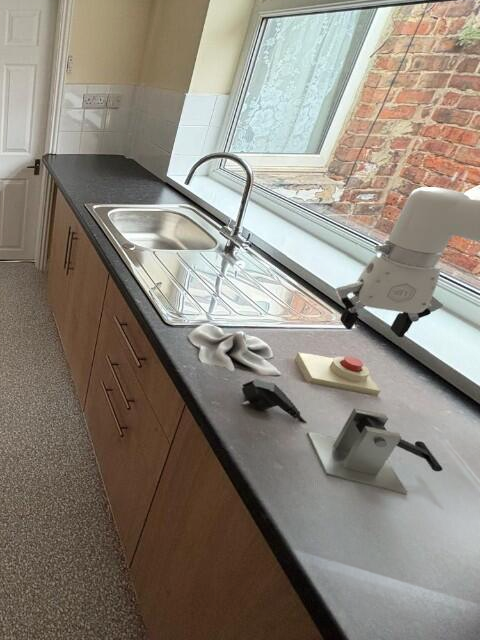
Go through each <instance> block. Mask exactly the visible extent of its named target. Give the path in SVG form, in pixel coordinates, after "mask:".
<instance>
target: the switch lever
mask: <svg viewBox="0 0 480 640" xmlns="http://www.w3.org/2000/svg"><path fill="white" fill-rule="evenodd" d="M365 426H367V427H372V428H376V429H381V430H386V431H388V430H387V428H386V427H385V425H383V424H380V423H378V422H376V421H374V420H372V419H370V418H367V417H366V418H365V419H363V420H362V421H360V422H359V423H358V424H356V427H357V428H358V430H359V432H360V434H361V432H362V431H363V429H364V427H365ZM396 447H398V448H400V449H403V450H405V451H407V452H409V453H411V454H413V455H415V456H417V457H419V458H422V459H424V460H425V461H426V462H427V464H428V465H429V467H430V468H431V470H432V471H434V472H437V473H438V472H442V471H443V467H442V466H441V464H440V463H439V462H438V460H437V458H436V457H435V456H434V454H433V453H432V452H431V450H430V449H429V448H428V446H427V445H426V444H425V443H424V442H423V441H420V440H419V441H415V442H414V444H413V443H411V442H409V441H407V440H405V439H402V438H401V439H400V441H399V442H398V444H397V445H396Z"/></svg>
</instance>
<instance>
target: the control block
mask: <svg viewBox="0 0 480 640" xmlns="http://www.w3.org/2000/svg"><path fill="white" fill-rule="evenodd" d="M344 357H345V356H342V355H341V356H334V357H328V356H322V355H317V354H312V353H305V352H301V351H298V352H297V354H296V356H295V358H294V360H295V362H296V363H297V366H298V368H299V370H300V372H301V373H302V375H303V377H304V379H305V381H306V383H307V384H311V385H316V386H320V387H321V386H322V387H326V388H330V389H331V388H332V389H337V390H343V391H347V392H353V393H357V394H362V395H368V396H373V397H379V394H380V393H381V390H380V388H379V387H378V385H377V383H375V381H374V379H373V378H372V377H371V376H370V373H371V370H369V368H368V366H366V365H365V364H363V366H362V368H361V370H360V371H359V372H354V371H350V370H348V369H346V368H344V367H343V366H342V365H341V363H342V361H343V359H344Z"/></svg>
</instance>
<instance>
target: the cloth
mask: <svg viewBox="0 0 480 640" xmlns="http://www.w3.org/2000/svg"><path fill="white" fill-rule="evenodd" d="M187 338H188V339H189V341H190V343H191V344H192V345H193V346H195V347H197V348H198V349H199V353H198V359H199V361H200V363H202V364H206V365H212V366H217V367H222V368H225V369H227V370H229V371H231V372H234V371H235V368H239V369H241V370H242V371H244V372H249V373H253V374H258V375H262V376H269V377H270V376H280V375H282V373H281V372H280V371H279V369H277V368H276V367H275V366H274V365H273V364H271V363H270V362H269V361H268V360H269V359H271V358H273V357H274V354H273V351H272V349H271V347H270V346H269V345H268V344H267V342H265V341H263V340H262V339H260V338H259V337H257V336H252V335H247V334H246V333H245V332H244V331H236V332H235V333H233V332H232V333H230V332H228V333H227V332H224V330H223V329H222V328H221V327H219V326H216V325H214V324H211V323H202V324H201V325H199V326H196V327H195V328H194V329H193V330H192V331H191V332H190V333H189V334H188V335H187Z"/></svg>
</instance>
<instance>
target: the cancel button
mask: <svg viewBox="0 0 480 640" xmlns="http://www.w3.org/2000/svg"><path fill="white" fill-rule="evenodd" d="M343 357H344V359H343V361H342V363H341V365H342V366H343V367H344V368H346V369H348V370H350V371H354V372H359V371H360V370H361V368H362V366H363V365H364V362H363V361H362V360H360V359H359V358H357V357H354V356H351V355H346V356H343Z"/></svg>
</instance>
